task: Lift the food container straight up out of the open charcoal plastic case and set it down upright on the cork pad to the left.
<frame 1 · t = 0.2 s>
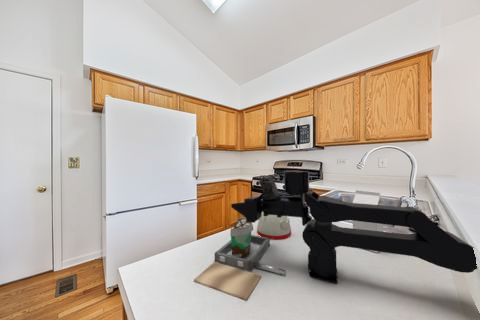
hand: (238, 202, 61), 17 cm above the worktop, tool horizontal, fingers open, 9 cm apart
white knit beanie: (273, 233, 77), on the worktop
food container: (244, 253, 61), resting in case
case: (244, 252, 61), on the worktop
pad: (227, 279, 48), on the worktop
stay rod: (267, 270, 52), on the worktop
milk carton: (368, 246, 64), on the worktop
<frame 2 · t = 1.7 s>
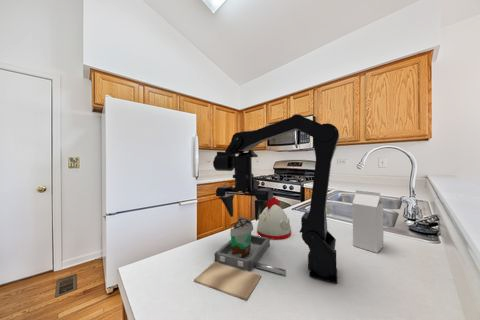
hand: (243, 218, 61), 11 cm above the worktop, tool pointing down, fingers open, 9 cm apart
nothing on the worktop moved.
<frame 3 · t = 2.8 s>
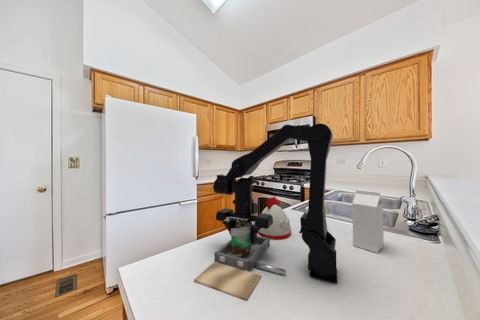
hand: (243, 243, 62), 3 cm above the worktop, tool pointing down, fingers closed on food container, 6 cm apart
food container: (244, 253, 62), resting in case, touching gripper
everything else where it was.
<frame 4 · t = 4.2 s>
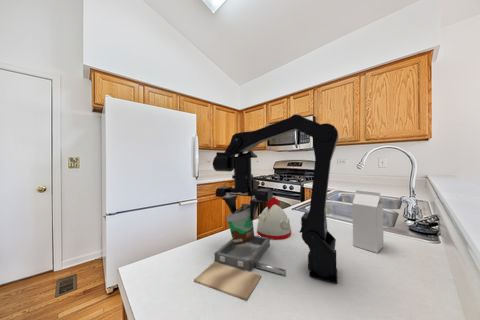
hand: (243, 218, 61), 11 cm above the worktop, tool pointing down, fingers closed on food container, 6 cm apart
food container: (248, 238, 62), point 5 cm above the worktop, touching gripper
everything else where it was.
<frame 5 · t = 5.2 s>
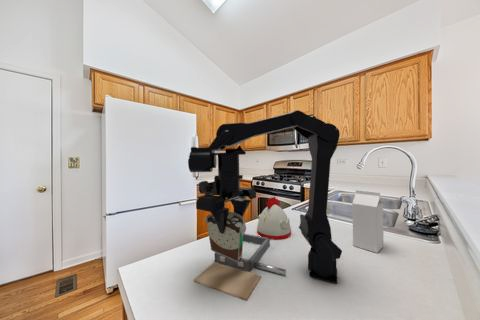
hand: (229, 229, 50), 12 cm above the worktop, tool pointing down, fingers closed on food container, 6 cm apart
food container: (231, 250, 52), point 6 cm above the worktop, touching gripper
everything else where it was.
when the fingers open (7 cm above the worktop, at t = 6.4 s): food container stays where it is, resting on pad.
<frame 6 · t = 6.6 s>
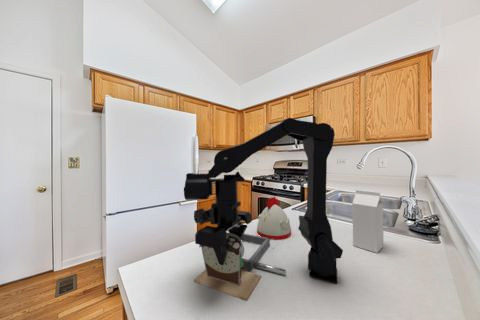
hand: (227, 258, 48), 5 cm above the worktop, tool pointing down, fingers open, 6 cm apart
food container: (228, 273, 50), point 1 cm above the worktop, touching gripper, pad
everything else where it was.
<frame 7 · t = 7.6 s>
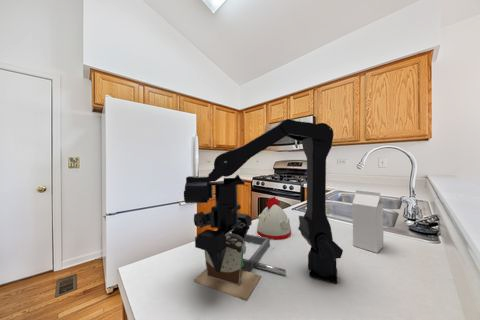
hand: (227, 261, 48), 4 cm above the worktop, tool pointing down, fingers open, 9 cm apart
food container: (228, 274, 50), resting on pad
everything else where it was.
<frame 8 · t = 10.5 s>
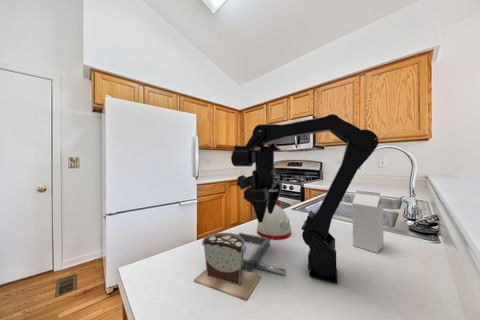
hand: (265, 217, 57), 13 cm above the worktop, tool pointing down, fingers open, 9 cm apart
nothing on the worktop moved.
at the end: food container inside the target area (1.6 cm from its centre), resting on pad; food container tilted 0°; the gripper is holding nothing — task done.
